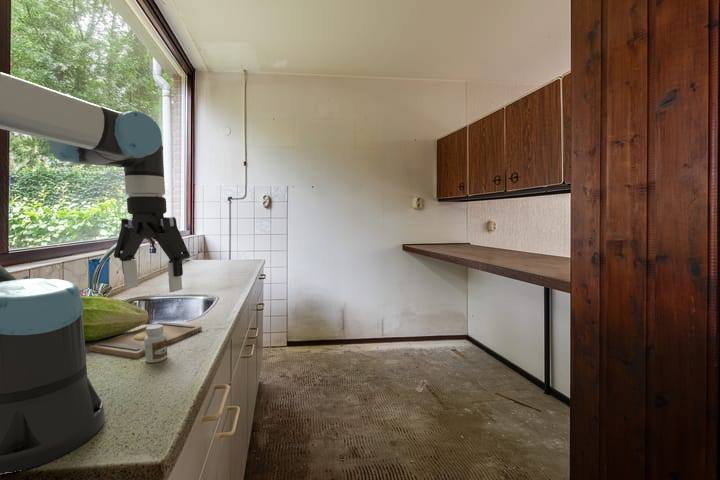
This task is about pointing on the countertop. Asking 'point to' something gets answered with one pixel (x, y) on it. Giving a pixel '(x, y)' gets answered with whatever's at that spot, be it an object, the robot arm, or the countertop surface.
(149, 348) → the pill bottle
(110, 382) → the countertop surface
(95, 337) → the green papaya
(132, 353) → the cutting board
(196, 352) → the countertop surface
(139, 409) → the countertop surface
